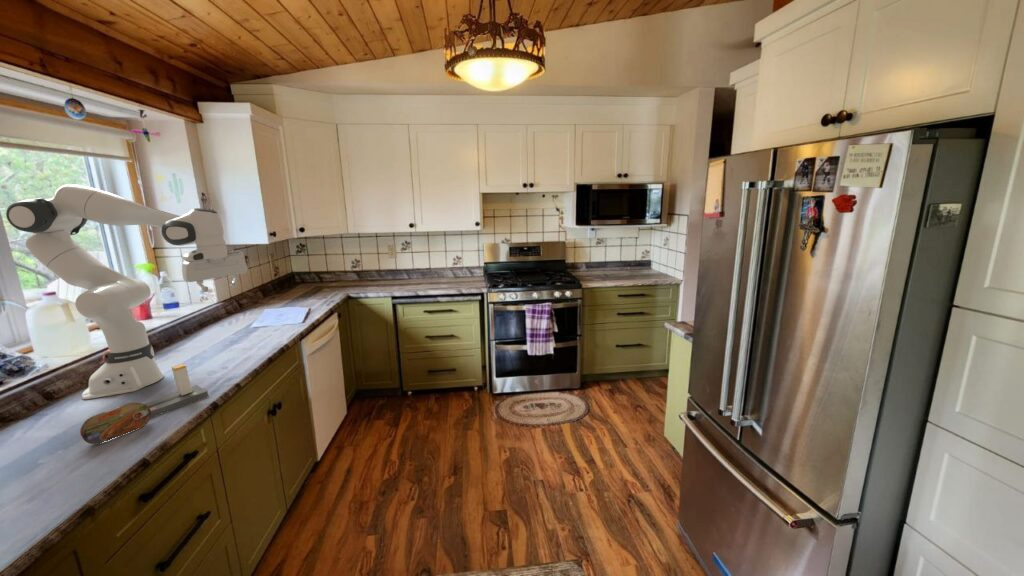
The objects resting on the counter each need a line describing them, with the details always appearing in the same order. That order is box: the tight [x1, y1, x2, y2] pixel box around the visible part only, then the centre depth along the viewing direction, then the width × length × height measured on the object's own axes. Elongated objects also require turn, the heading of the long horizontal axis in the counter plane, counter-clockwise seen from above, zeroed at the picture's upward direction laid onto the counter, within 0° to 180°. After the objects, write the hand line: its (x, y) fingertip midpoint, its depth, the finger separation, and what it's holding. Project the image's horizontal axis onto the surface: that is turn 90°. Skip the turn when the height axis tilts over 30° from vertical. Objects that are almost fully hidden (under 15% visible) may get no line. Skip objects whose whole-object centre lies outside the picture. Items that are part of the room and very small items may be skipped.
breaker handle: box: [171, 363, 192, 395], centre depth 138 cm, size 3×3×10 cm
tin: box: [79, 401, 151, 445], centre depth 119 cm, size 15×3×8 cm, turn 148°
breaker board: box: [144, 384, 209, 419], centre depth 136 cm, size 18×9×2 cm, turn 146°
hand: (220, 289), depth 154 cm, fingers open, 8 cm apart
